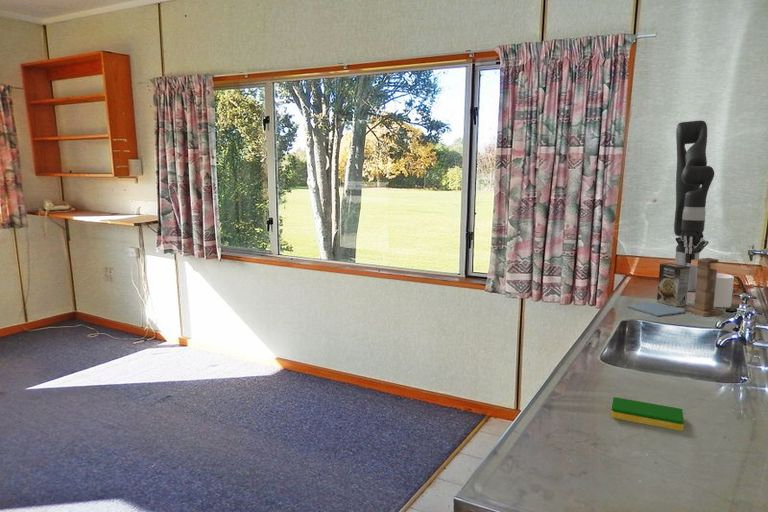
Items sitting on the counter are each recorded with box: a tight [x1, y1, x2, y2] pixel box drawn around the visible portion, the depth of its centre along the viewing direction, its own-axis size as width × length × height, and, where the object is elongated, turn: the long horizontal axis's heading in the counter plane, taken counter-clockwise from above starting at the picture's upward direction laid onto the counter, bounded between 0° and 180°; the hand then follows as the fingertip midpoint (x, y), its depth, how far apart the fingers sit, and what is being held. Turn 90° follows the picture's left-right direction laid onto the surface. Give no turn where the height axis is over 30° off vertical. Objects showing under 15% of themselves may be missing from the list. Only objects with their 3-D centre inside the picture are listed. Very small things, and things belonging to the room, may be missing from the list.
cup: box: [713, 272, 735, 309], centre depth 208 cm, size 12×12×12 cm
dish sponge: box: [610, 396, 685, 431], centre depth 114 cm, size 7×14×2 cm, turn 63°
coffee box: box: [656, 262, 690, 308], centre depth 209 cm, size 9×6×16 cm
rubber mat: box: [627, 302, 686, 318], centre depth 201 cm, size 14×14×1 cm
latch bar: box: [691, 260, 756, 276], centre depth 189 cm, size 3×22×2 cm, turn 21°
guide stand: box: [683, 257, 723, 317], centre depth 196 cm, size 10×8×21 cm
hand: (689, 263), depth 201 cm, fingers closed
